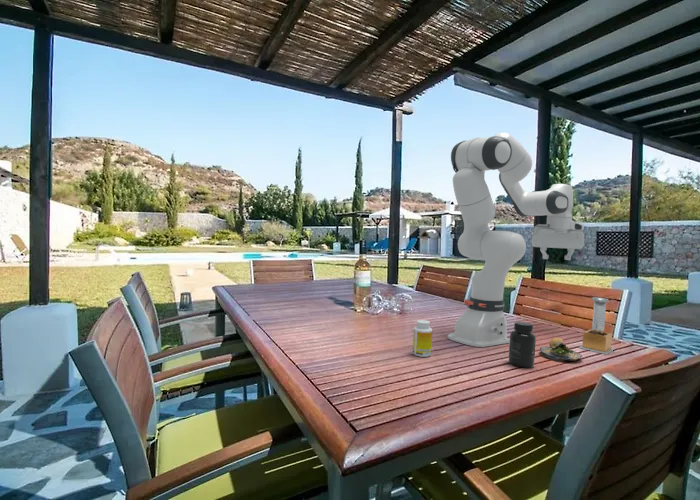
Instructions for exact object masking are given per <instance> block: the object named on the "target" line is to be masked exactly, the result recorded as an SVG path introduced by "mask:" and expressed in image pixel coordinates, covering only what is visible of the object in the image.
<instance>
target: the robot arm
mask: <svg viewBox="0 0 700 500" xmlns="http://www.w3.org/2000/svg"><path fill="white" fill-rule="evenodd" d="M450 161H451V162H450V163H451V165H452V170H453V171H454V175H453V177H452V187H453V191H454V196H455V199H456V203H457V206H458V208H459V211H460V213H461V216H462V221H463V232H462V233H461V234H460V236H459V238H458V240H457V249H458V251H459V254H461V255H462V256H463V257H466V258H468V259H473V260H478V261H479V260H481V261H485V262H484V265H483V267H482V269H480V270H479V271H477V272H476V273H474V274H473V276H472V278H471V292H470V297H469V299H464V300H463V301H464V302H463V305H465V306H467V308H466V310H465V311H464V312H463V313H462V314H461V315H460V316H459V317H458V319H457V320H456V321H455V326H454V331H453V332H450V333H449V334H447V337H446V338H447V339H449V340H450V341H453V342H456V343H460V344H463V345H467V346H470V347H471V346H472V347H476V348H485V347H486V348H487V347H492V346H497V345H504V344H505V345H506V344H510V338H508V331H507V330H508V324H507V323H508V322H507V318H506V315H505V314H504V310H505V300H504V291H505V285H506V284H505V283H506V278H507V276H508V273H509V271H510V270H511V268H512V267H513V265H514V264H516V263H517V262H519V261H520V260H522V258H524V256H525V253H526V250H527V244H526V243H527V242H526V240H525V238H524V236H523V235H522V234H520V233H517V232H512V231H510V230H509V231H508V230H491V229H490V228H489V223H490V222H491V223H492V221H493V219H495V216H496V212H497V211H496V208H495V205H494V201H493V198H492V196H491V195H492V194H491V193H490V190H489V187H488V185H487V182H486V180H485V172H486V171H490V170H491V171H494V170H498V172H499V174H498V180H499V182H500V184H501V187H502V188H503V190H504V192H505V193H506V194H507V196H508V198H509V199H510V201H511V202H512V205H513V208H514V211H515V212H516V213H517V215H519V216H520V217H522V218H527V217H535V216H536V217H537V216H540V217H541V216H542V217H543V216H546V223H545V224H544V223H543V224H542V223H541V224H540V223H538V224H536V225H535V226H534V227H533V234H532V238H531V239H532V240H531V245H532V247H533V248H540V249H539V250H540V252H541V254H542V259H543V260H548V259H549V254H547V250H548V248H550V249H551V248H552V249H567V254H566V255H564V260H565V261H571V259H572V256H573V254H574V253H575V250H582V249H583V248H584V246H585V233H584V232H583V231H584V230H585V226H584V224H582V223H579V222H576V221H574V220H573V214H572V212H573V209H574V191H573V190H574V189H573V187H572V185H570V184H568V183H553V184H552V185H551V186H550V188H549V189H546V190H539V191H538V190H537V191H526V190H524V189H523V187H522V185H521V184H520V181H522V180H523V179H525V178H526V177H527V176H528V175H529V174H530V172H531V170H532V167H533V160H532V156H531V155H530V154H529V152H528V151H527V149H525V147H524V146H523V145H522V144H521V142H519V141H518V140H517V139H516V138H515V137H514V136H512V135H511V134H510V133H508V132H504V131H503V132H499V133H495V134H494V135H493V136H490V137H489V136H488V137H487V136H486V137H475V138H472V139H468V140H462V141H460V142H458V143H456V144H455V145H454V146H453V147H452V149H451V152H450Z"/></svg>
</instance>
